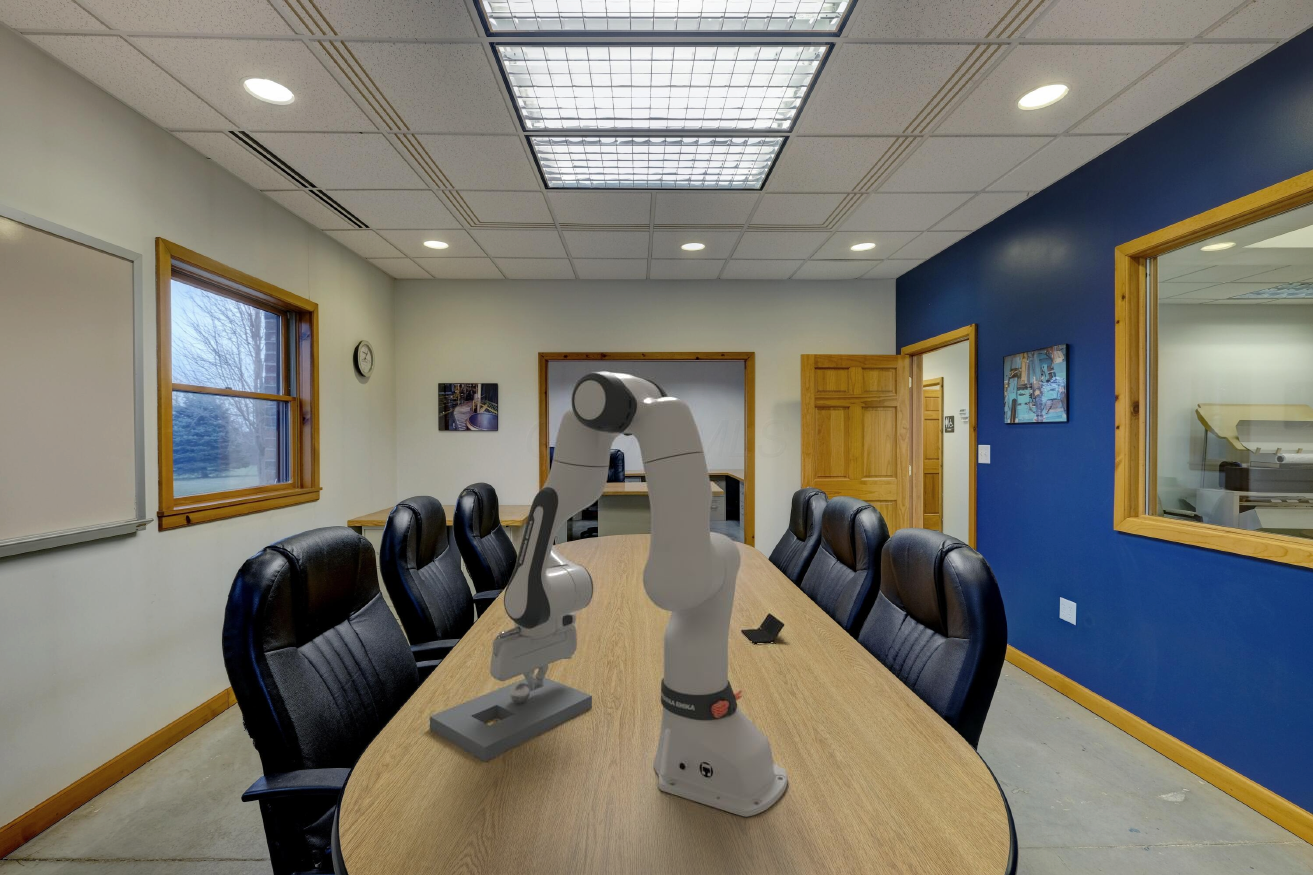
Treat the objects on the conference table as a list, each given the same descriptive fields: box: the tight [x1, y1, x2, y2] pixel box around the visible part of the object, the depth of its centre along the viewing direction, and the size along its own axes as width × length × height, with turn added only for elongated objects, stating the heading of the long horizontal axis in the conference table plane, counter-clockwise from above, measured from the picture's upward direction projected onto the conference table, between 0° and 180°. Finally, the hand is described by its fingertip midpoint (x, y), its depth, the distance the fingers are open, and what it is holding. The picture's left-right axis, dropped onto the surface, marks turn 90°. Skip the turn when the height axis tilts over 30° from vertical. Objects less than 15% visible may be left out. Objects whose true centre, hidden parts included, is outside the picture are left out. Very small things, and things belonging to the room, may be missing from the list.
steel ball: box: [510, 681, 530, 704], centre depth 113 cm, size 4×4×4 cm
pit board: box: [429, 673, 593, 763], centre depth 111 cm, size 18×26×2 cm
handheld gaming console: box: [740, 613, 785, 645], centre depth 160 cm, size 12×7×10 cm
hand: (535, 688), depth 116 cm, fingers closed
